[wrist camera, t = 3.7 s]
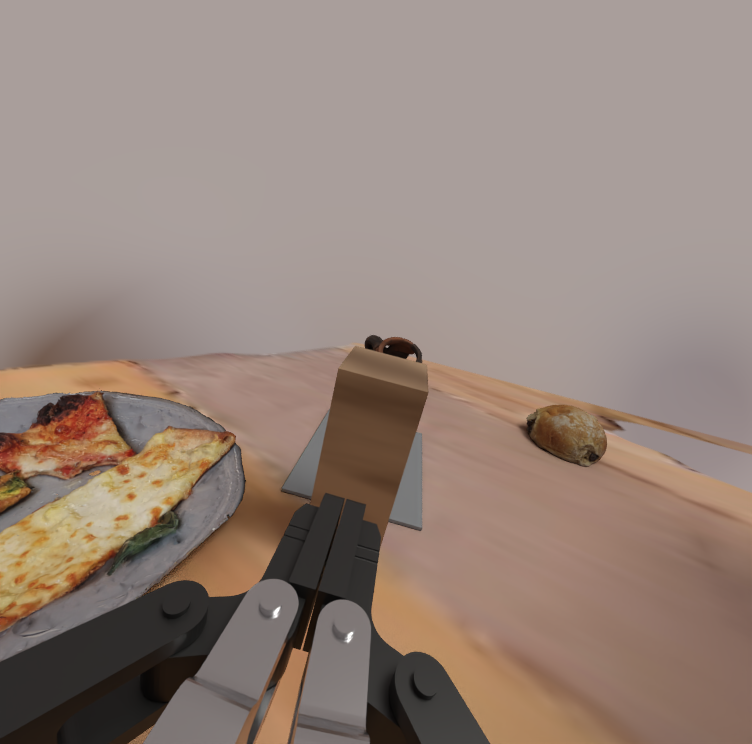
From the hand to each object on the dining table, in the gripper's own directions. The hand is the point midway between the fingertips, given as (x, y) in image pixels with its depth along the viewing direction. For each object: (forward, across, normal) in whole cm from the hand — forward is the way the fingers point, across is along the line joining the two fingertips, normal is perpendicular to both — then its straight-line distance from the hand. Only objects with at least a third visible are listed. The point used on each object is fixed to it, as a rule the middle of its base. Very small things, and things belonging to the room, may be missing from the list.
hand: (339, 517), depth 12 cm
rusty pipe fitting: (+48, 0, +11) cm, 49 cm away
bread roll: (+38, -27, +11) cm, 48 cm away
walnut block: (+10, 0, +11) cm, 15 cm away
